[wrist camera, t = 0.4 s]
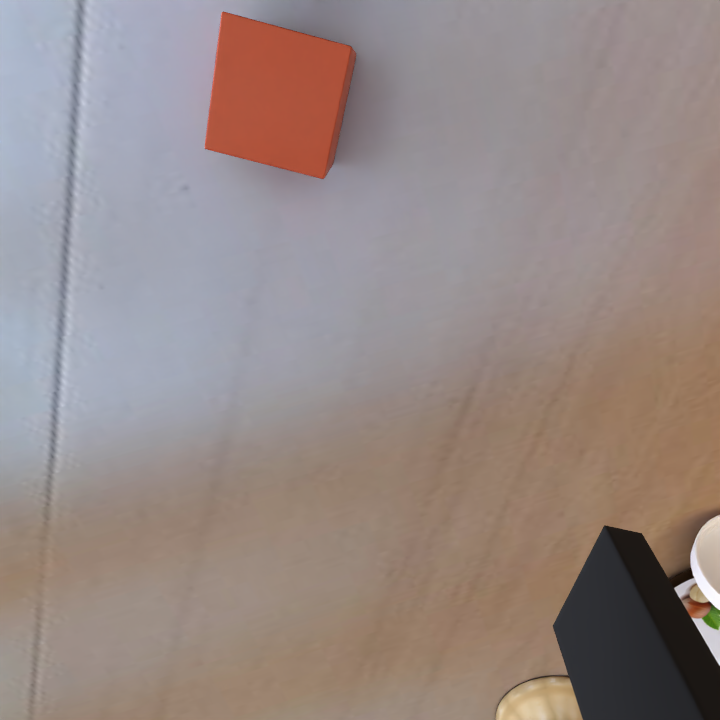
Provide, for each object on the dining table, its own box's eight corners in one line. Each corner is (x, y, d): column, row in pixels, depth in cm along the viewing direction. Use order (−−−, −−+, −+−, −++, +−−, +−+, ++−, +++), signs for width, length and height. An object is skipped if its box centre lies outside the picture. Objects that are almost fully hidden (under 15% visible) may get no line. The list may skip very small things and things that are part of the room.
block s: (248, 23, 27) (221, 10, 22) (356, 53, 27) (352, 46, 23) (231, 139, 29) (203, 148, 24) (332, 165, 29) (324, 179, 25)
